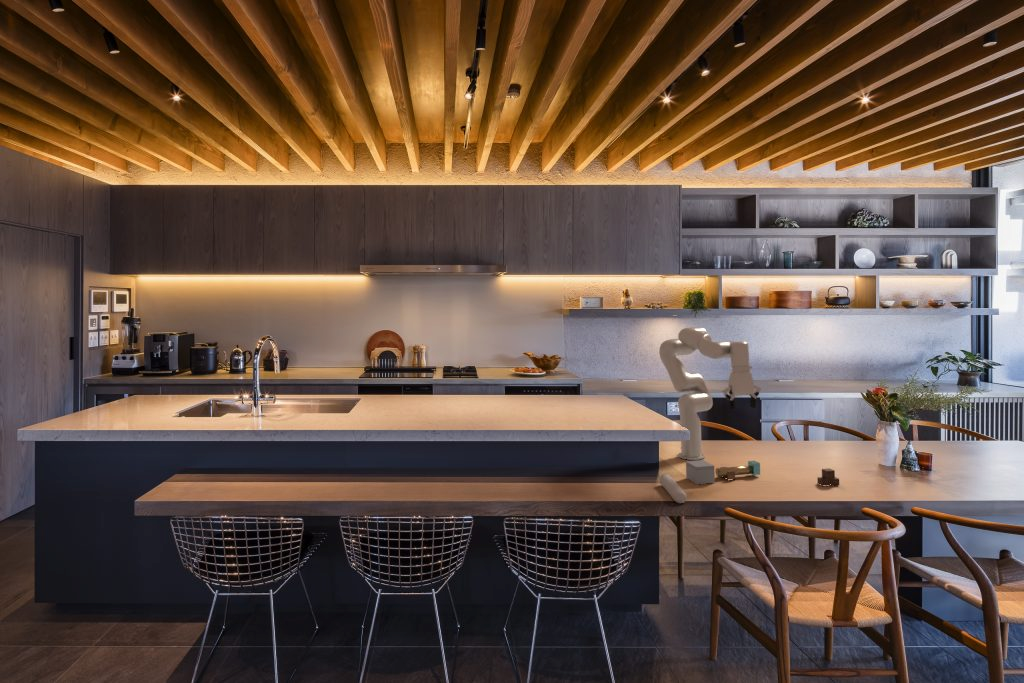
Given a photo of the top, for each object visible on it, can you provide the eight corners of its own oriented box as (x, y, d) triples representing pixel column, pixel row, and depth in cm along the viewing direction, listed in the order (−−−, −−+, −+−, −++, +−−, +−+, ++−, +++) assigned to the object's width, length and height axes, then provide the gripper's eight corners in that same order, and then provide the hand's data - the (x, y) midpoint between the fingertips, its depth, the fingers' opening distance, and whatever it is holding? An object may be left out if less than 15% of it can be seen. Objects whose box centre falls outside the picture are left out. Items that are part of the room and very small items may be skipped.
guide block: (720, 476, 266) (719, 467, 266) (726, 475, 267) (726, 466, 266) (728, 480, 259) (728, 471, 259) (735, 480, 259) (734, 471, 259)
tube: (690, 494, 232) (673, 475, 257) (677, 490, 232) (661, 472, 257) (686, 507, 232) (669, 487, 257) (672, 503, 232) (657, 483, 257)
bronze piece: (715, 475, 264) (714, 463, 264) (754, 471, 267) (754, 460, 267) (720, 478, 260) (719, 466, 260) (760, 474, 263) (759, 463, 262)
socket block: (686, 478, 265) (685, 461, 265) (703, 476, 266) (703, 459, 266) (696, 484, 255) (696, 467, 255) (714, 483, 257) (714, 465, 256)
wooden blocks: (822, 493, 239) (822, 476, 239) (803, 482, 254) (803, 466, 254) (859, 492, 240) (859, 474, 239) (838, 481, 255) (838, 465, 254)
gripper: (754, 367, 273) (756, 405, 273) (717, 370, 271) (720, 408, 271) (763, 368, 266) (765, 407, 266) (726, 371, 264) (728, 410, 264)
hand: (742, 408), depth 269 cm, fingers open, 9 cm apart
